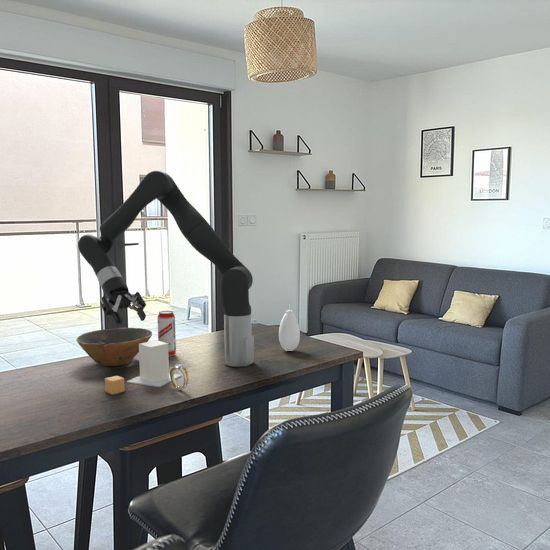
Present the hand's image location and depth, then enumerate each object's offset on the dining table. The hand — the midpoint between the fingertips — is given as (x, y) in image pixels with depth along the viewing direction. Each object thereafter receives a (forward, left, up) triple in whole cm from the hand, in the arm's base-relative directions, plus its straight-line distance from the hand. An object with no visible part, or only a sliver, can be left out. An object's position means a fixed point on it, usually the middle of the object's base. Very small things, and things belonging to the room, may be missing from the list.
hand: (132, 321), depth 180 cm
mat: (-11, +4, -17) cm, 20 cm away
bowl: (+13, -7, -17) cm, 23 cm away
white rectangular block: (-11, +4, -17) cm, 20 cm away
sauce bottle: (-37, -44, -17) cm, 60 cm away
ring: (-24, +10, -17) cm, 31 cm away
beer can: (+2, -22, -17) cm, 28 cm away
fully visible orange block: (-7, +18, -17) cm, 26 cm away
